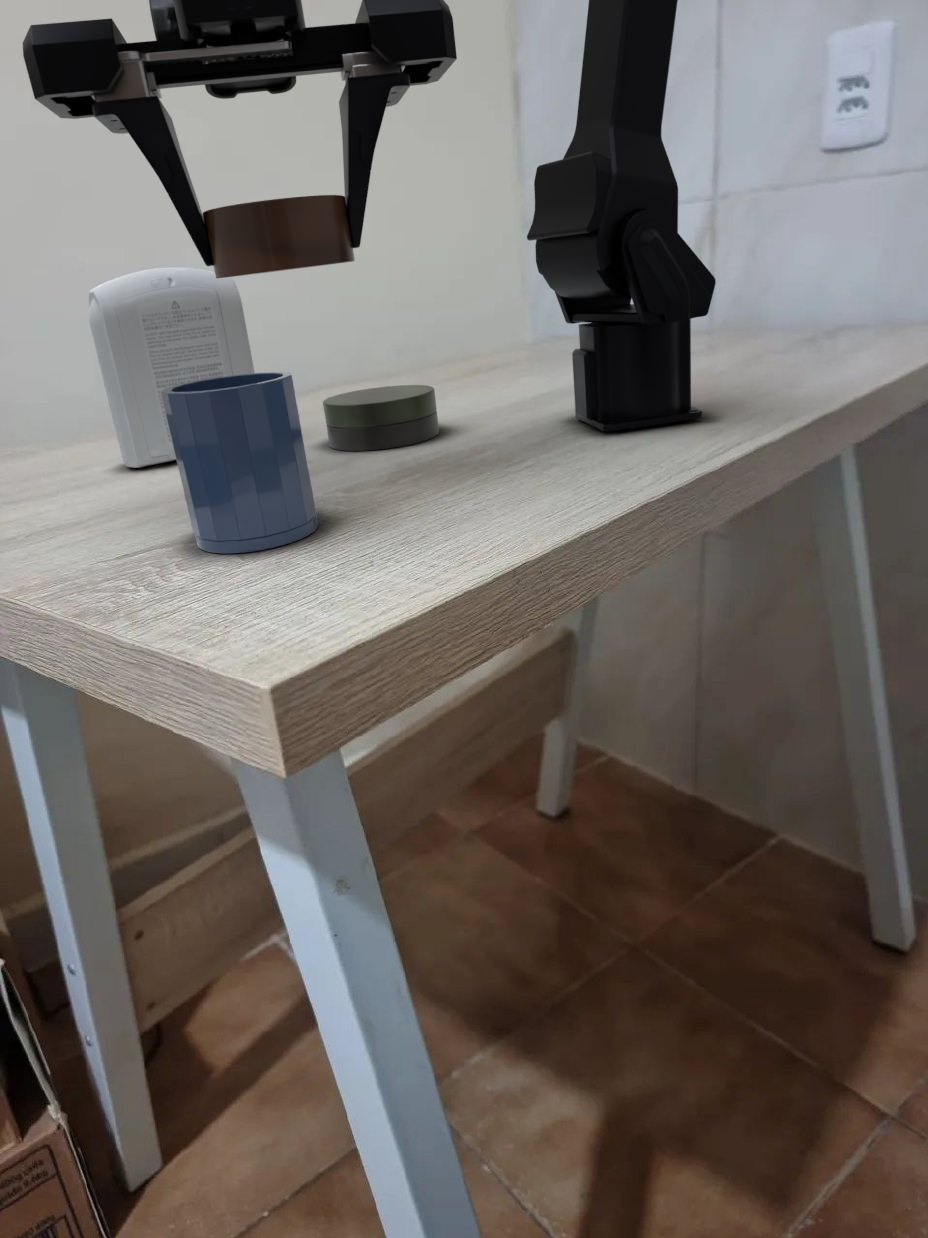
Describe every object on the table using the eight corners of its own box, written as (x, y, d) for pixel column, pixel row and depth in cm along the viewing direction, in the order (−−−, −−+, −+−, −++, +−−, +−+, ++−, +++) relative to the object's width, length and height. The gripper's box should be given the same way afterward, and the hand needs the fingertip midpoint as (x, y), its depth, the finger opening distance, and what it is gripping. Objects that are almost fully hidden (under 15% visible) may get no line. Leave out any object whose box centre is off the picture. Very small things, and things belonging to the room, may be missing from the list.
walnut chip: (349, 262, 48) (339, 201, 47) (360, 259, 42) (350, 190, 40) (220, 278, 47) (207, 217, 46) (211, 278, 41) (196, 207, 39)
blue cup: (316, 510, 44) (291, 367, 41) (319, 541, 39) (291, 380, 36) (203, 527, 43) (170, 382, 40) (191, 561, 38) (152, 398, 35)
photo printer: (256, 437, 66) (221, 262, 62) (277, 443, 63) (242, 258, 58) (118, 465, 62) (69, 278, 57) (133, 473, 58) (83, 274, 53)
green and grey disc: (430, 422, 64) (425, 380, 63) (447, 440, 57) (442, 393, 56) (327, 436, 63) (320, 394, 62) (332, 456, 56) (324, 409, 55)
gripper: (400, -77, 47) (437, 240, 53) (37, -51, 44) (120, 279, 50) (435, -175, 36) (477, 231, 43) (-34, -148, 34) (81, 280, 40)
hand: (284, 256), depth 44 cm, fingers closed on walnut chip, 7 cm apart
